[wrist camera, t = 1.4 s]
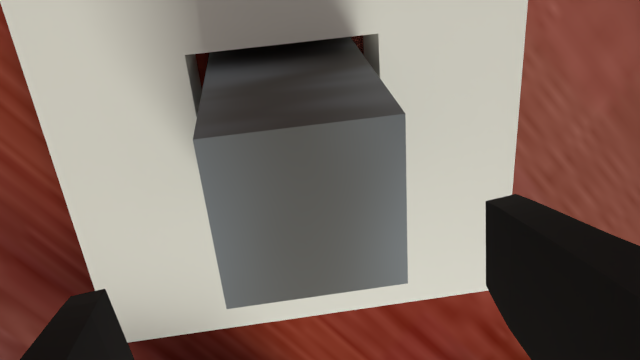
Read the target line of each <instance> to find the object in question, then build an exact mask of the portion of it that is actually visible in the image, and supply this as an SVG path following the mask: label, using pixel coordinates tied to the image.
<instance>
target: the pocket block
mask: <svg viewBox="0 0 640 360" xmlns="http://www.w3.org/2000/svg"><path fill="white" fill-rule="evenodd" d="M0 3H1V6H2V9H3V12H4V15H5V18H6V21H7V24H8V27H9V30H10V33H11V36H12V39H13V42H14V45H15V48H16V51H17V54H18V58H19V61H20V64H21V67H22V70H23V73H24V76H25V79H26V82H27V85H28V88H29V91H30V94H31V97H32V100H33V103H34V106H35V109H36V112H37V115H38V118H39V121H40V125H41V128H42V131H43V134H44V137H45V140H46V143H47V146H48V149H49V152H50V155H51V158H52V161H53V164H54V167H55V170H56V173H57V176H58V179H59V182H60V185H61V188H62V192H63V195H64V198H65V201H66V204H67V207H68V210H69V213H70V216H71V219H72V222H73V225H74V228H75V231H76V234H77V237H78V240H79V243H80V246H81V249H82V252H83V255H84V259H85V262H86V265H87V268H88V271H89V274H90V277H91V280H92V283H93V286H94V289H95V291H97V290H101V289H106V292H107V294H108V297H109V299H110V302H111V304H112V306H113V309H114V311H115V314H116V316H117V319H118V321H119V324H120V326H121V328H122V331H123V333H124V336H125V338H126V341H127V343H128V342H135V341H142V340H149V339H156V338H163V337H169V336H176V335H183V334H190V333H197V332H204V331H211V330H218V329H225V328H232V327H239V326H246V325H252V324H259V323H266V322H273V321H280V320H287V319H294V318H301V317H308V316H315V315H322V314H328V313H335V312H342V311H349V310H356V309H363V308H370V307H377V306H384V305H391V304H398V303H404V302H411V301H418V300H425V299H432V298H439V297H446V296H453V295H460V294H467V293H474V292H480V291H487V290H488V288H487V286H486V201H488V200H492V199H496V198H501V197H505V196H509V195H512V188H513V176H514V164H515V151H516V139H517V127H518V115H519V103H520V91H521V78H522V66H523V54H524V42H525V30H526V18H527V5H528V0H0ZM360 35H363V47H364V57H365V58H366V60H367V61H368V62H369V64H370V65H371V66H372V68H373V69H374V71H375V72H376V73H377V75H378V76H379V78H380V79H381V80H382V82H383V83H384V85H385V86H386V87H387V89H388V90H389V92H390V93H391V94H392V96H393V97H394V98H395V100H396V101H397V103H398V104H399V105H400V107H401V108H402V110H403V111H404V112H405V118H406V188H407V258H408V283H407V284H400V285H393V286H386V287H379V288H372V289H365V290H358V291H351V292H344V293H337V294H330V295H323V296H316V297H309V298H302V299H295V300H288V301H281V302H274V303H267V304H260V305H253V306H246V307H239V308H232V309H226V304H225V299H224V294H223V289H222V284H221V279H220V274H219V269H218V264H217V259H216V254H215V249H214V244H213V239H212V234H211V229H210V224H209V219H208V214H207V209H206V204H205V199H204V194H203V189H202V184H201V179H200V174H199V169H198V164H197V159H196V154H195V149H194V144H193V135H194V130H195V125H196V120H197V115H198V110H199V105H200V99H201V94H202V88H201V82H200V77H199V72H198V66H197V61H196V55H195V54H199V53H208V52H217V51H226V50H235V49H244V48H253V47H262V46H271V45H280V44H288V43H297V42H306V41H315V40H324V39H333V38H342V37H351V36H360Z"/></svg>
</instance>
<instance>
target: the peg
mask: <svg viewBox="0 0 640 360" xmlns="http://www.w3.org/2000/svg"><path fill="white" fill-rule="evenodd" d="M193 144H194V149H195V154H196V159H197V164H198V169H199V174H200V179H201V184H202V189H203V194H204V199H205V204H206V209H207V214H208V219H209V224H210V229H211V234H212V239H213V244H214V249H215V254H216V259H217V264H218V269H219V274H220V279H221V284H222V289H223V294H224V299H225V304H226V309H232V308H239V307H246V306H253V305H260V304H267V303H274V302H281V301H288V300H295V299H302V298H309V297H316V296H323V295H330V294H337V293H344V292H351V291H358V290H365V289H372V288H379V287H386V286H393V285H400V284H407V283H408V258H407V188H406V118H405V112H404V111H403V110H402V108H401V107H400V105H399V104H398V103H397V101H396V100H395V98H394V97H393V96H392V94H391V93H390V92H389V90H388V89H387V87H386V86H385V85H384V83H383V82H382V80H381V79H380V78H379V76H378V75H377V73H376V72H375V71H374V69H373V68H372V66H371V65H370V64H369V62H368V61H367V60H366V58H365V57H364V55H363V54H362V53H361V51H360V50H359V48H358V47H357V46H356V44H355V43H354V41H353V40H352V39H351V37H342V38H333V39H324V40H315V41H306V42H297V43H288V44H280V45H271V46H262V47H253V48H244V49H235V50H226V51H217V52H210V53H209V58H208V63H207V69H206V74H205V79H204V84H203V89H202V94H201V99H200V105H199V110H198V115H197V120H196V125H195V130H194V135H193Z"/></svg>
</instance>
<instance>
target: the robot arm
mask: <svg viewBox="0 0 640 360" xmlns="http://www.w3.org/2000/svg"><path fill="white" fill-rule="evenodd" d="M486 286H487V288H488V290H489V292H490V294H491V296H492V298H493V300H494V302H495V303H496V305H497V307H498V309H499V311H500V313H501V315H502V316H503V318H504V320H505V322H506V324H507V325H508V327H509V329H510V330H511V332H512V333H513V334H514V336H515V337H516V339H517V340H518V342H519V343H520V344H521V346H522V347H523V349H524V350H525V351H526V353H527V354H528V355H529V357H530V358H531V360H640V246H638V245H636V244H633V243H631V242H628V241H626V240H623V239H621V238H618V237H616V236H614V235H611V234H609V233H606V232H604V231H602V230H599V229H597V228H595V227H592V226H590V225H588V224H585V223H583V222H581V221H579V220H576V219H574V218H572V217H570V216H567V215H565V214H563V213H560V212H558V211H556V210H554V209H551V208H549V207H547V206H544V205H542V204H540V203H537V202H535V201H533V200H530V199H528V198H525V197H522V196H520V195H517V194H514V195H509V196H505V197H501V198H496V199H492V200H488V201H486ZM20 360H134V358H133V355H132V353H131V350H130V348H129V346H128V343H127V341H126V338H125V336H124V333H123V331H122V328H121V326H120V324H119V321H118V319H117V316H116V314H115V311H114V309H113V306H112V304H111V302H110V299H109V297H108V294H107V292H106V289H101V290H97V291H93V292H88V293H84V294H79V295H75V296H71V297H70V298H69V299H68V300H67V301H66V303H65V304H64V305H63V306H62V307H61V308H60V310H59V311H58V312H57V313H56V315H55V316H54V317H53V318H52V320H51V321H50V322H49V324H48V325H47V326H46V327H45V329H44V330H43V331H42V332H41V334H40V335H39V336H38V338H37V339H36V340H35V341H34V343H33V344H32V345H31V346H30V348H29V349H28V350H27V351H26V353H25V354H24V355H23V356H22V358H21V359H20Z"/></svg>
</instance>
